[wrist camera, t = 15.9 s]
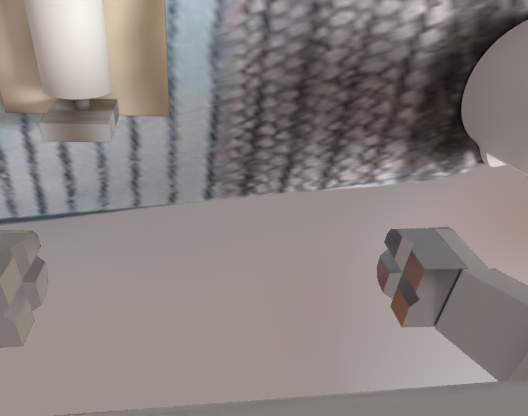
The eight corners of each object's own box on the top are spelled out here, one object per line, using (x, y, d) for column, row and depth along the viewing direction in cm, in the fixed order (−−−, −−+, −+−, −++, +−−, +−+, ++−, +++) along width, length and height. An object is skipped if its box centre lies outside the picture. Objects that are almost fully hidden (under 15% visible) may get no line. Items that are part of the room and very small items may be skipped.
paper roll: (56, -64, 30) (-10, -69, 26) (111, -57, 28) (50, -62, 24) (79, 79, 36) (28, 93, 31) (126, 91, 34) (79, 108, 30)
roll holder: (161, -93, 30) (157, -100, 24) (169, 112, 39) (167, 142, 33) (-51, -119, 27) (-112, -135, 21) (9, 108, 36) (-23, 140, 30)
